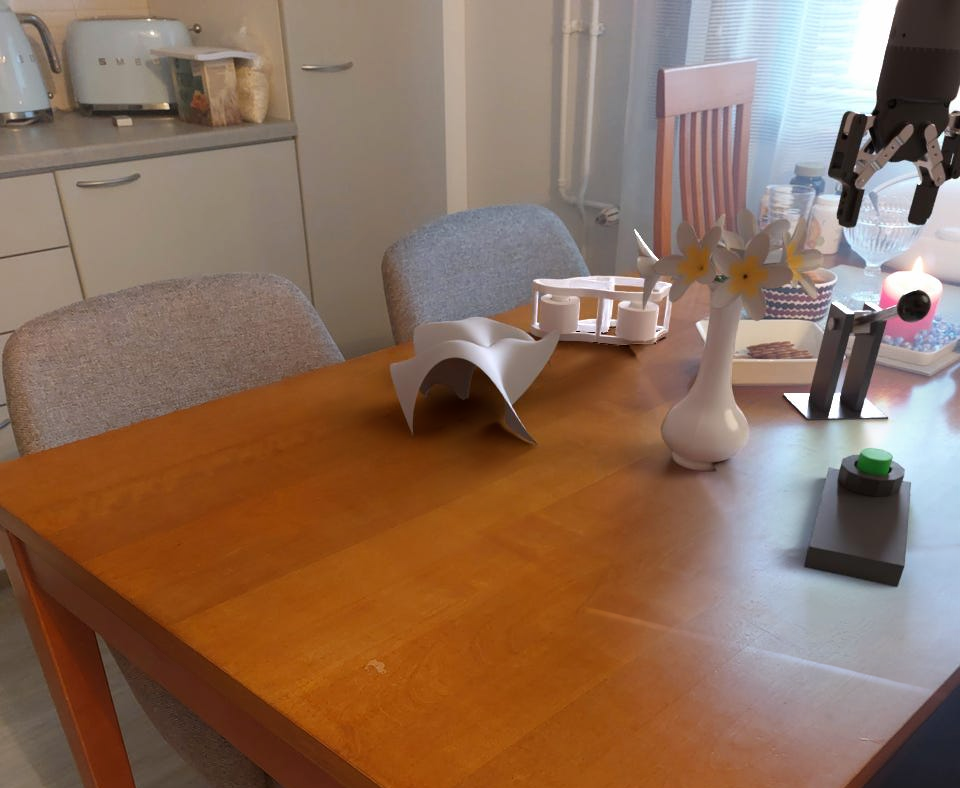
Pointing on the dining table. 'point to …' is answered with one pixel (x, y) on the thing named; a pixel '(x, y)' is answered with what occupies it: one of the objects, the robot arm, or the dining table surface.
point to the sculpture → (472, 362)
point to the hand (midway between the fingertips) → (881, 225)
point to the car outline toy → (598, 310)
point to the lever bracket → (858, 375)
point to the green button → (874, 461)
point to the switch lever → (894, 312)
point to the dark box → (861, 524)
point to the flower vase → (724, 321)
